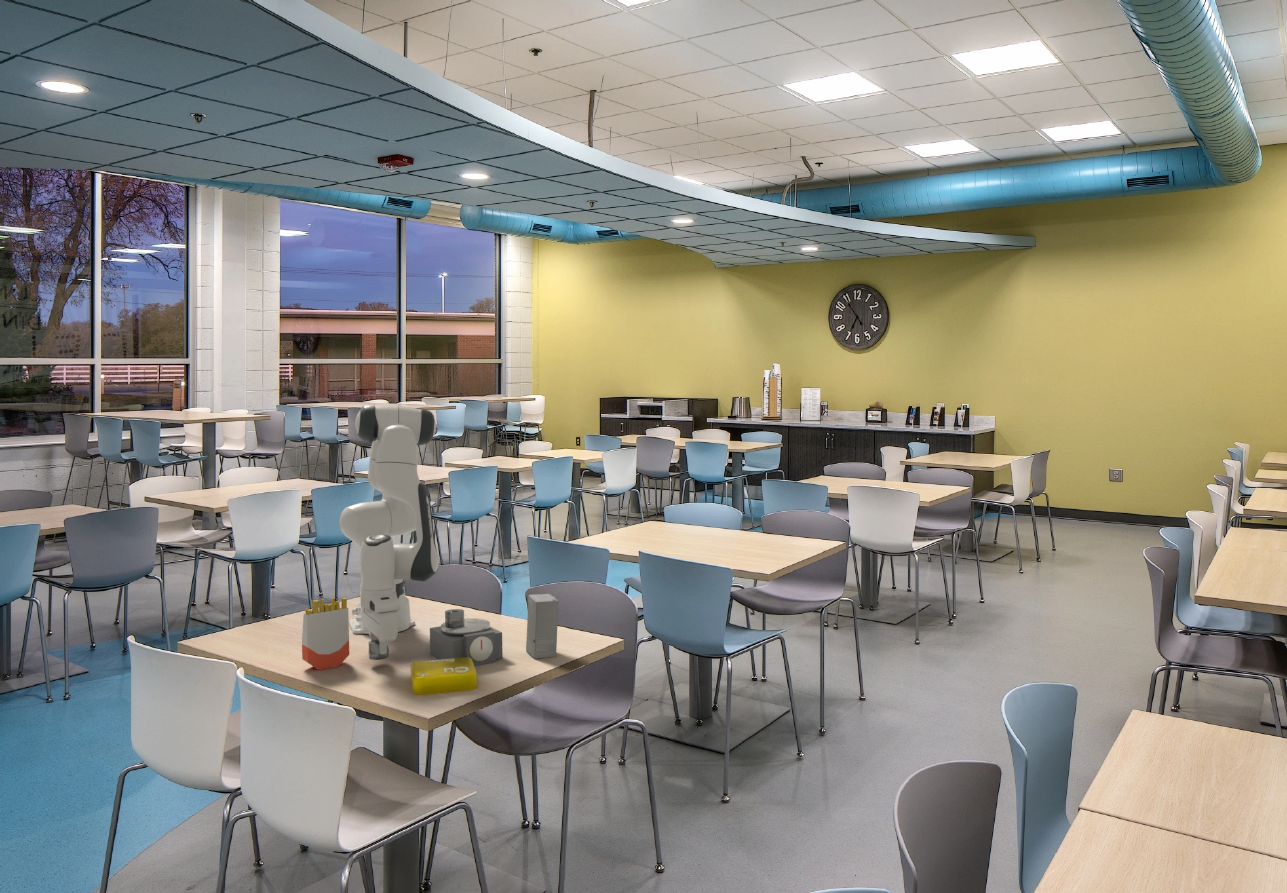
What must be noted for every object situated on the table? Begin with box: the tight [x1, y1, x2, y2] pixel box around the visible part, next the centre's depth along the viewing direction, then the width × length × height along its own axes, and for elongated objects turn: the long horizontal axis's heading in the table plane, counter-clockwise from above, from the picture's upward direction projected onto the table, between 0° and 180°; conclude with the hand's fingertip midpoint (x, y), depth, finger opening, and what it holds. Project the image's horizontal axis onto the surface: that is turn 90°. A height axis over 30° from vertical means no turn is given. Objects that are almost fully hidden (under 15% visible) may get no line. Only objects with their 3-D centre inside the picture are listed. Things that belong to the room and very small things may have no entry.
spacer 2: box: [444, 608, 465, 628], centre depth 239 cm, size 5×5×4 cm
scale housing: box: [429, 625, 504, 667], centre depth 240 cm, size 18×14×8 cm
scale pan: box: [440, 617, 491, 635], centre depth 241 cm, size 13×13×1 cm
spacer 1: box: [368, 638, 390, 661], centre depth 232 cm, size 5×5×4 cm
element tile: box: [410, 657, 478, 696], centre depth 218 cm, size 15×15×5 cm
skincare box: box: [525, 593, 559, 660], centre depth 242 cm, size 8×7×16 cm
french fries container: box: [301, 597, 350, 671], centre depth 232 cm, size 5×11×18 cm, turn 130°
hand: (378, 650), depth 232 cm, fingers closed on spacer 1, 5 cm apart
